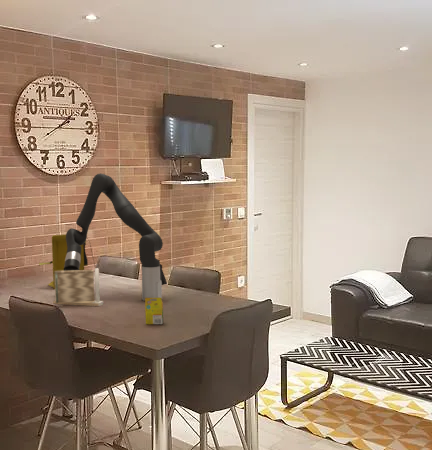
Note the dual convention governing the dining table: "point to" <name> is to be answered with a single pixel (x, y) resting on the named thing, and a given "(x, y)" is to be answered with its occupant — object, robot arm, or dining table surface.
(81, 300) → the beige zigzag patterned panel
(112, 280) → the dining table surface
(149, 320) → the crayon box
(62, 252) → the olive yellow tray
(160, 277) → the door stopper
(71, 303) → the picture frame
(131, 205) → the robot arm
